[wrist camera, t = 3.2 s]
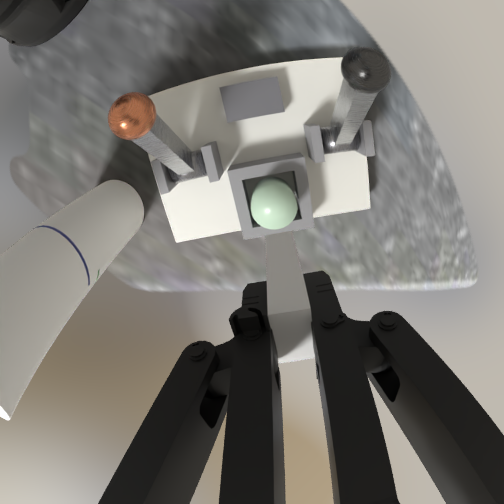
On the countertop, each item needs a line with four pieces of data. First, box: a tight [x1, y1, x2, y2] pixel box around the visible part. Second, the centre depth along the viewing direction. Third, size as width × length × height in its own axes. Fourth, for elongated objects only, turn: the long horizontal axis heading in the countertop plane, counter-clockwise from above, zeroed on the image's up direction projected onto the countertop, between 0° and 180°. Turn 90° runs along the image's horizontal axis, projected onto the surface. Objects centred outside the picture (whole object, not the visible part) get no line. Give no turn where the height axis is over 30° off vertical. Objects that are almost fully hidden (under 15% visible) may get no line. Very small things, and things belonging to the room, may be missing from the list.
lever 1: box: [108, 92, 208, 184], centre depth 18 cm, size 3×3×13 cm
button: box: [251, 177, 297, 230], centre depth 23 cm, size 4×4×3 cm
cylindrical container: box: [0, 180, 144, 420], centre depth 18 cm, size 7×7×25 cm
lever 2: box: [320, 47, 391, 154], centre depth 16 cm, size 3×3×13 cm
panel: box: [148, 57, 375, 243], centre depth 23 cm, size 15×20×6 cm
